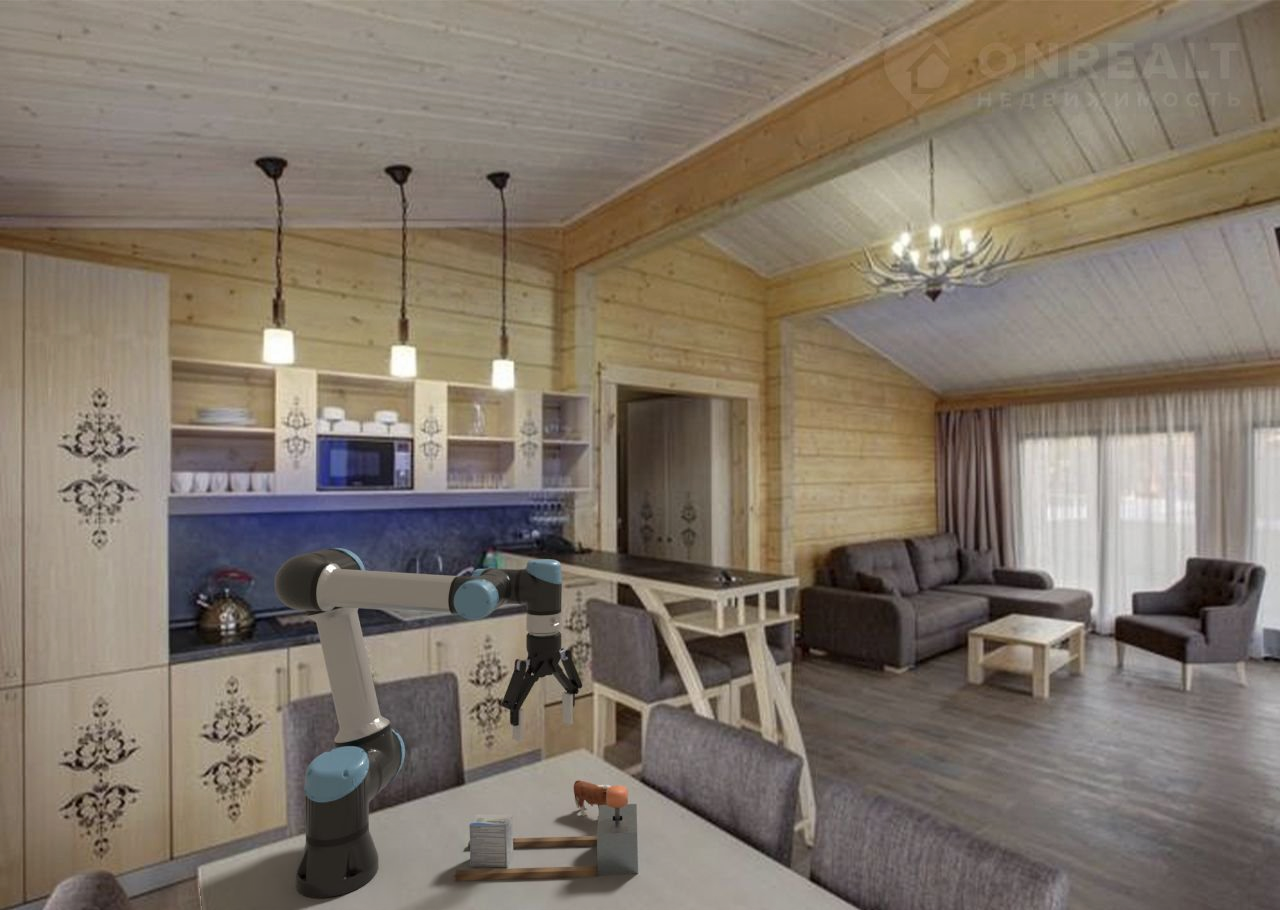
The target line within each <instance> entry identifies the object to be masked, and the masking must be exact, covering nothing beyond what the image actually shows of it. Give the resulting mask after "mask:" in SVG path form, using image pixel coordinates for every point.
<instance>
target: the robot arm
mask: <svg viewBox="0 0 1280 910" xmlns="http://www.w3.org/2000/svg"><path fill="white" fill-rule="evenodd" d="M274 589H275V594H276V596H277V597H278V599H279V600H280V602H281V603H282V604H284V606H286V607H287V608H289V609H292V610H296V611H305V612H306V618H308V619H310V620H312V621H314V622H315V623H316V627H317V632H318V637H319V640H320V645H321V650H322V655H323V658H324V659H323V660H324V664H325V668H326V669H325V670H326V672H327V677H328V681H329V686H330V689H331V691H330V692H331V696H332V699H333V704H334V709H335V713H336V717H337V723H338V727H339V728H338V729H339V731H338V733H336V736H335V737H334V741H333V742H334V746H335V748H332V749H331V750H330V751H324V752H322V753H321V754H319V755H318V756H316V757H315V758H314V759H313V760H312V761H311V762H310V763H309V764H308V766H307V768H306V771H305V780H304V784H303V790H304V805H305V807H304V811H305V812H304V813H305V814H304V816H305V818H304V819H305V845H304V847H303V851H302V854H301V857H300V860H299V864H298V867H297V870H296V874H295V876H296V877H295V886H296V890H297V891H298V892H299V893H300V894H301V895H303V896H306V897H309V898H316V899H318V898H319V899H321V898H332V897H337V896H341V895H346V894H347V893H350V892H353V891H355V890H358V889H359V888H361V887H363V886H364V885H366V884H368V883H369V882H370V881H371V880H372V879H374V877H375V876H376V874H377V873H378V871H379V853H378V851H377V847H376V845H375V842H374V840H373V837H372V835H371V832H370V823H369V819H370V816H369V814H370V813H369V807H370V802H371V801H372V800H373V799H374V798H375V797H376V796H377V795H378V794H379V793H380V792H381V791H382V790H383V789H384V788H385V787H386V786H387V785H389V784H390V783H391V782H392V781H393V780H394V779H395V778H396V776H397V775H398V773H399V772H400V770H401V769H402V767H403V765H404V761H405V756H406V748H405V747H406V746H405V743H404V740H403V738H402V737H401V735H400V734H399V733H398V732H396V731H395V729H393V728H392V726H391V722H390V719H388V718H387V717H384V716H382V715H381V712H380V711H381V710H380V707H379V702H378V697H377V693H376V688H375V684H374V680H373V676H372V672H371V666H370V662H369V657H368V652H367V648H366V644H365V639H364V637H363V636H364V635H363V630H362V627H361V623H360V618H359V613H358V611H359V609H365V610H384V611H397V612H398V611H401V612H414V613H430V614H431V613H432V614H444V615H445V614H446V615H449V614H450V615H459V616H460V617H462V618H463V619H466V620H469V621H476V620H480V619H485V618H486V617H488V616H489V615H491V614H492V613H493V612H495V610H497V609H499V608H500V607H501V606H503V605H526V616H525V617H526V619H525V620H526V621H525V622H526V626H525V627H526V629H525V630H526V632H527V634H526V636H525V637H526V640H525V641H526V642H525V643H526V647H525V648H526V651H527V658H526V659H519V658H516V659H515V661H514V668H513V673H512V675H511V678H510V680H509V684H508V685H507V688H506V691H505V693H504V697H503V699H502V701H501V707H503V708H505V709H507V710H509V712H510V713H509V723H510V724H509V725H511V726H512V740H514V741H516V742H519V743H521V742H524V709H523V708H522V706H523V704H524V702H525V701H526V698H528V695H529V694H530V692H531V690H532V689H533V687H534V685H535V683H536V682H538V681H539V679H540V678H541V679H542V678H545V677H547V676H553V677H555V679H556V680H557V681H558V683H559V684H560V686H562V688H563V689H564V690H565V691H563V692H562V694H561V695H562V699H561V700H562V701H561V703H562V704H561V705H562V710H561V711H562V713H561V715H562V717H561V719H562V720H561V722H562V723H564V724H566V725H568V726H571V725H573V724H574V708H575V704H576V695H578V694H579V689H582V688H583V683H582V681H581V677H580V675H579V673H578V671H577V668H576V666H575V665H576V664H575V663H574V661H573V657H572V656H573V655H572V654H573V653H572V650H571V649H568V648H565V647H562V633H561V630H562V597H563V596H562V592H563V590H562V589H563V580H562V565H561V562H560V561H558V560H557V559H550V558H547V559H546V558H541V559H539V558H538V559H531V560H529V561H527V563H526V566H525V568H522V569H518V568H517V569H515V568H513V569H512V568H492V567H488V568H477V569H475V570H474V571H473V572H472V575H471V576H458V575H446V574H445V575H444V574H430V573H429V574H428V573H427V574H426V573H411V572H396V571H395V572H393V571H378V570H365V566H364V563H363V561H362V560H361V558H360V557H359V556H358V555H357V554H356V553H354V552H352V551H351V550H349V549H346V548H342V547H334V548H333V547H330V548H324V549H320V550H317V551H311V552H308V553H307V552H306V553H302V554H298V555H295V556H293V557H290V558H289V559H288V560H286V561H285V562H284V563H283V564H282V565H281V566H280V568H279V569H278V570H277V573H276V575H275V579H274ZM560 661H561V664H562V666H563V668H562V667H561V665H560V664H559V663H560ZM564 670H565V672H564Z"/></svg>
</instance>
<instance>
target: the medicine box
mask: <svg viewBox="0 0 1280 910" xmlns="http://www.w3.org/2000/svg"><path fill="white" fill-rule="evenodd" d="M513 830H514V829H513V815H512V814H483V813H482V814H478V813H477V814H476V815H475V816H474V817H473V819H472V820H471V822H470V823H469V841H470V849H469V850H470V851H469V856H470V857H469V858H470V859H469V861H470V865H469V866H470V867H489V868H490V867H495V868H496V867H497V868H499V867H501V868H509V866H510V863H511V861H512V859H513V856H514V848H513V838H514V835H513Z"/></svg>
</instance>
